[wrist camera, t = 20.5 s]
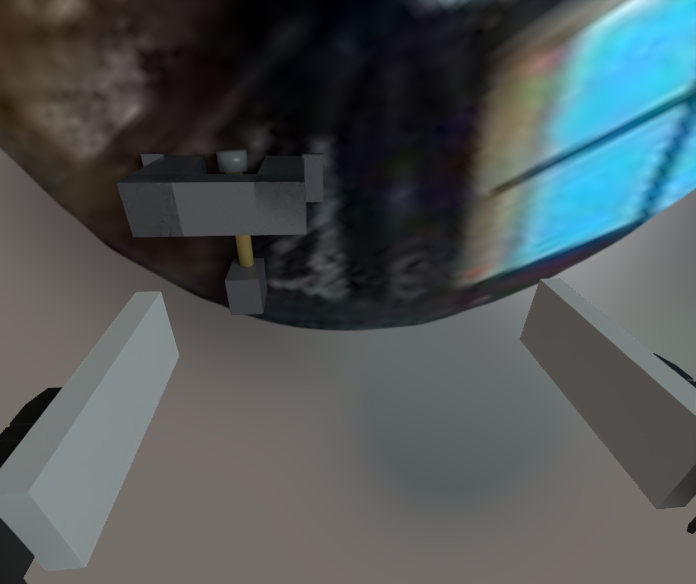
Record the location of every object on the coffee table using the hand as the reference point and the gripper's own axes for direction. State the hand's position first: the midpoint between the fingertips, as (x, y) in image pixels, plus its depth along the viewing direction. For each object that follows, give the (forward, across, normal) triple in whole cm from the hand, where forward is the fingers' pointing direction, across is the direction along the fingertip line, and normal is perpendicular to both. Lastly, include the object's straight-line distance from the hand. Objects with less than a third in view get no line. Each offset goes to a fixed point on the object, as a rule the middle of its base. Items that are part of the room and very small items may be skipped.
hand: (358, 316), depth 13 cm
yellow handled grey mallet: (+35, -10, -10) cm, 37 cm away
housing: (+35, -10, -4) cm, 36 cm away
